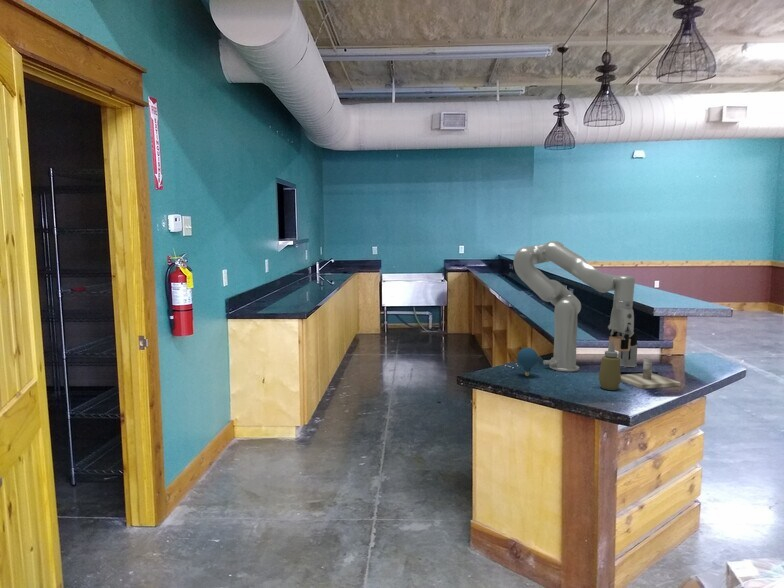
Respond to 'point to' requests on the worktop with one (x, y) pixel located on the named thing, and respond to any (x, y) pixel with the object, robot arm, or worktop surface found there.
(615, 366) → the squeeze bottle
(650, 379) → the base
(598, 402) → the worktop surface
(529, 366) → the light bulb
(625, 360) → the glass holder
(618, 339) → the collar
